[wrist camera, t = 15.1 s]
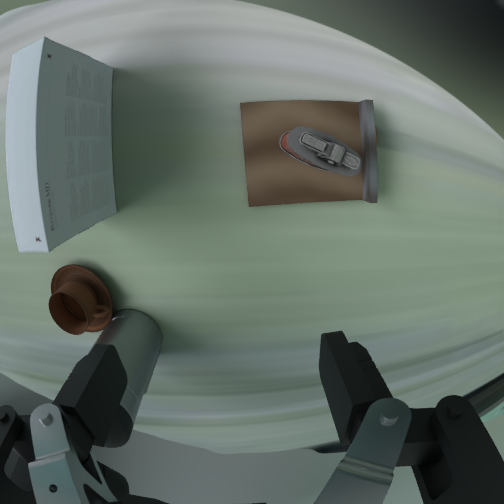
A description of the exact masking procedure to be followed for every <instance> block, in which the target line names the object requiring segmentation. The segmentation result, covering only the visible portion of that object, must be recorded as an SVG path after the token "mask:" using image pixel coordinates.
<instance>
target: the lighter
mask: <svg viewBox="0 0 504 504" xmlns="http://www.w3.org/2000/svg"><path fill="white" fill-rule="evenodd" d="M279 146H280V149H281V150H282V151H284V152H285V153H287V154H288V155H290V156H291V157H293V158H294V159H296V160H298V161H300V162H302V163H304V164H306V165H309V166H311V167H314V168H317V169H321V170H325V171H329V172H334V173H338V174H341V175H345V176H350V177H353V176H355V175H357V174H358V173H359V172H360V170H361V167H362V160H361V157H360V156H359V154H358V153H356V152H355V151H354V150H353V149H351V148H350V147H349V146H348V145H346V144H345V143H343V142H341V141H340V140H338V139H336V138H335V137H333V136H331V135H328V134H326V133H323V132H321V131H318V130H315V129H311V128H307V127H301V126H299V127H296V128H294V129H293V130H292V131H288V132H286V133H284V134H283V135H281V137H280V139H279Z"/></svg>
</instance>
